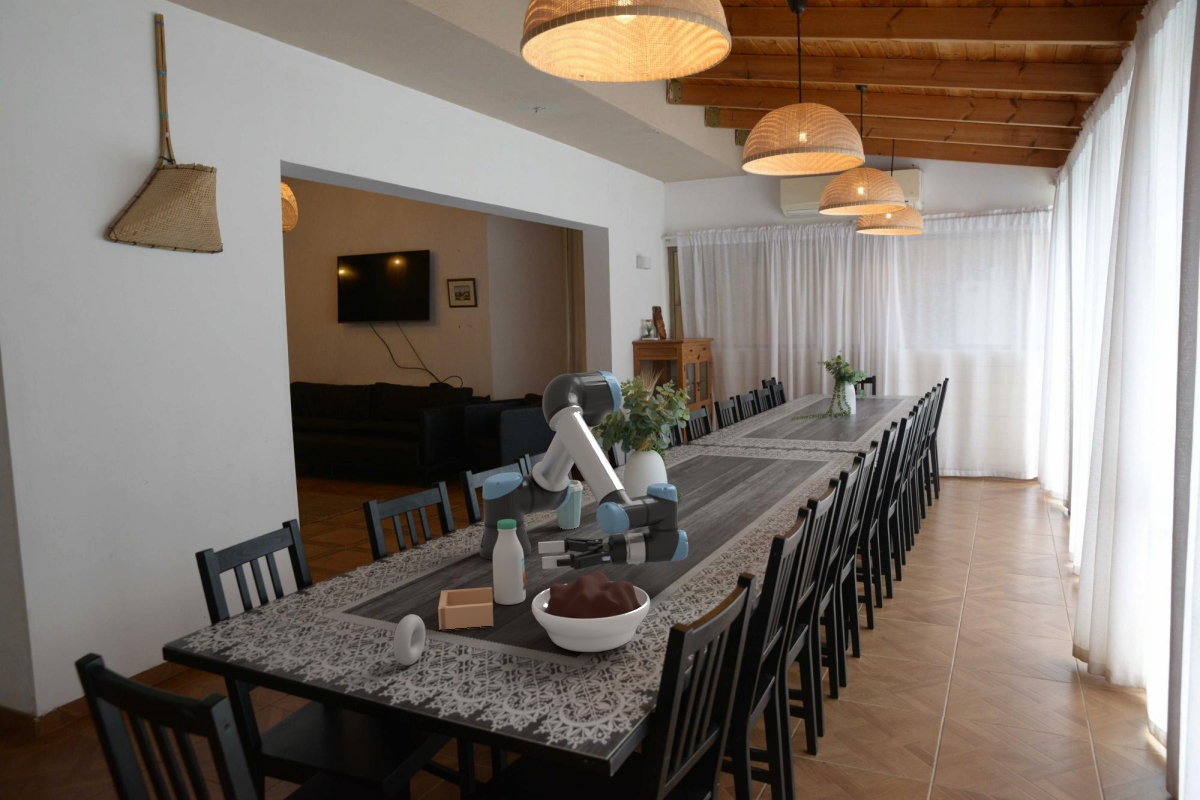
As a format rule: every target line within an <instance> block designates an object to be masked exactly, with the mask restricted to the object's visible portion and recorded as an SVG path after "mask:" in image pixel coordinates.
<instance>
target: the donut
mask: <svg viewBox="0 0 1200 800" xmlns="http://www.w3.org/2000/svg"><path fill="white" fill-rule="evenodd" d="M426 632H427V631H426V625H425V623H424V621H423V619H422V618H421V617H420V616H419V615H417V614H413V613H412V614H407V615H406V616H404V617H403V618H402V619H400V621H399V622H398V624H397V627H396V629H395V632H394V636H393V644H392V645H393V646H392V648H393V655H394V657H395V660H396V661H397V662H398V663H399V665H400V664H401V665H403V666H411V665H413V664H415V663H416V662H417V661H418V660H419V659H420V657H421V655H422V653H423V651H424V648H425V643H426Z"/></svg>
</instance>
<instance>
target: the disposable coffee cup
mask: <svg viewBox="0 0 1200 800" xmlns="http://www.w3.org/2000/svg"><path fill="white" fill-rule="evenodd" d="M569 480H570V484H571V489H570V492H571V494H570V498H569V500H568V502H567V503H566V504H565V505H564V506H562V507H560V508H557V509H555V514H556V517H557V523H558V526H559V528H560V529H561V528H562V529H561V530H574V528H575V529H577V527H578V528H579V527H580V523H581V510H582V500H583V499H582V498H583V489H584V486H583V485H582V482H581V481H580V480H577V479H576V480H575V479H569Z"/></svg>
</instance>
